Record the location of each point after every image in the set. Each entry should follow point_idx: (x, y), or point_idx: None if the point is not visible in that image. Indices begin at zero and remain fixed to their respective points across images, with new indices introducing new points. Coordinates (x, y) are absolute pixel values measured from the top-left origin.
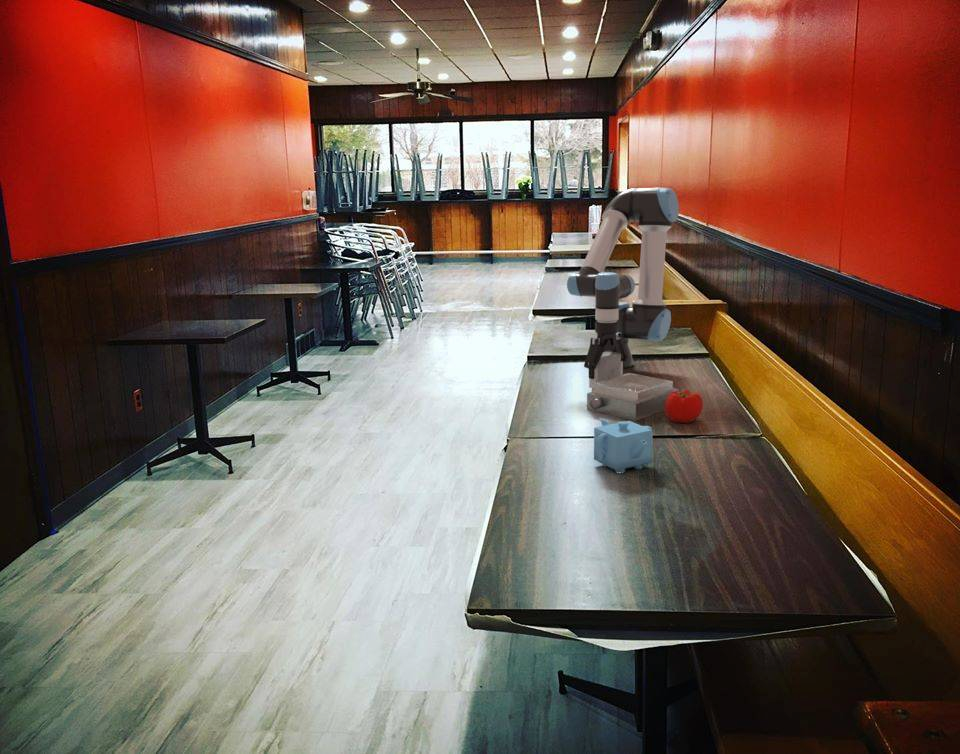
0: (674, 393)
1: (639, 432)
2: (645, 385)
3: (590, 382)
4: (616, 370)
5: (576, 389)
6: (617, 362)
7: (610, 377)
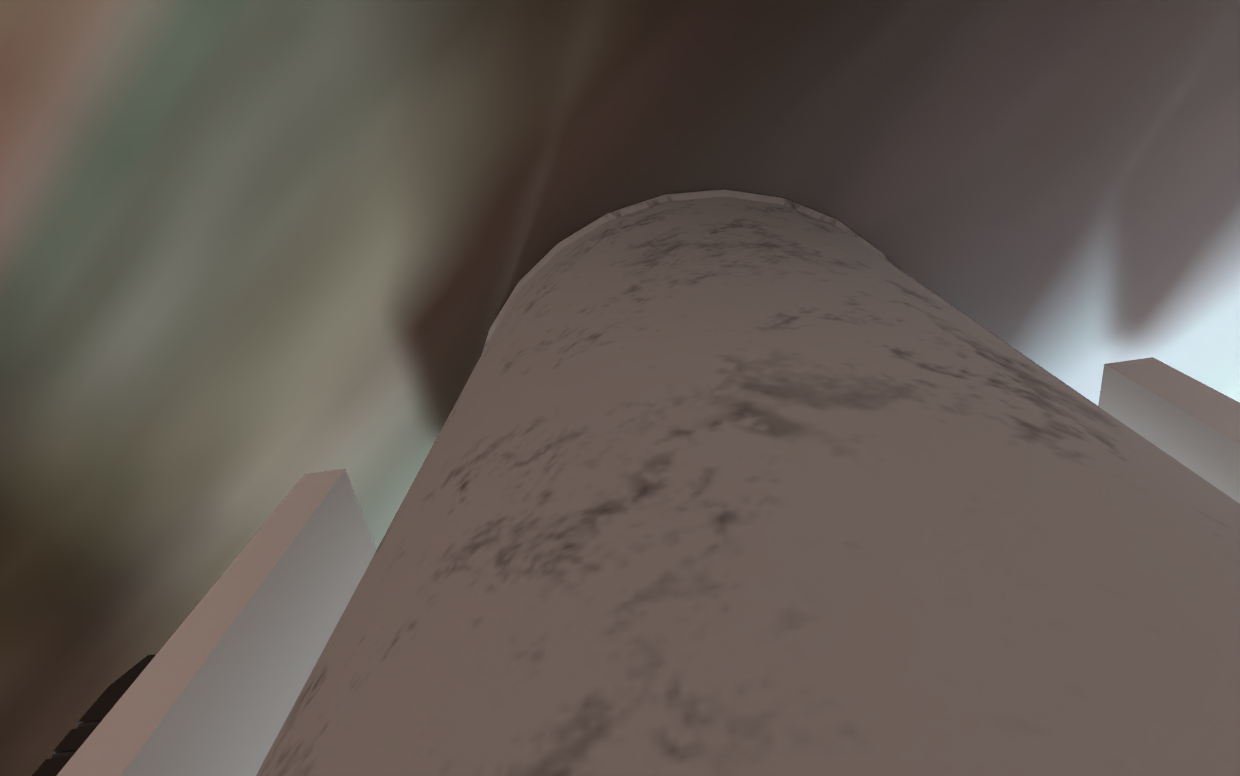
0: None
1: None
2: None
3: None
4: (817, 352)
5: None
6: (879, 587)
7: (967, 322)
